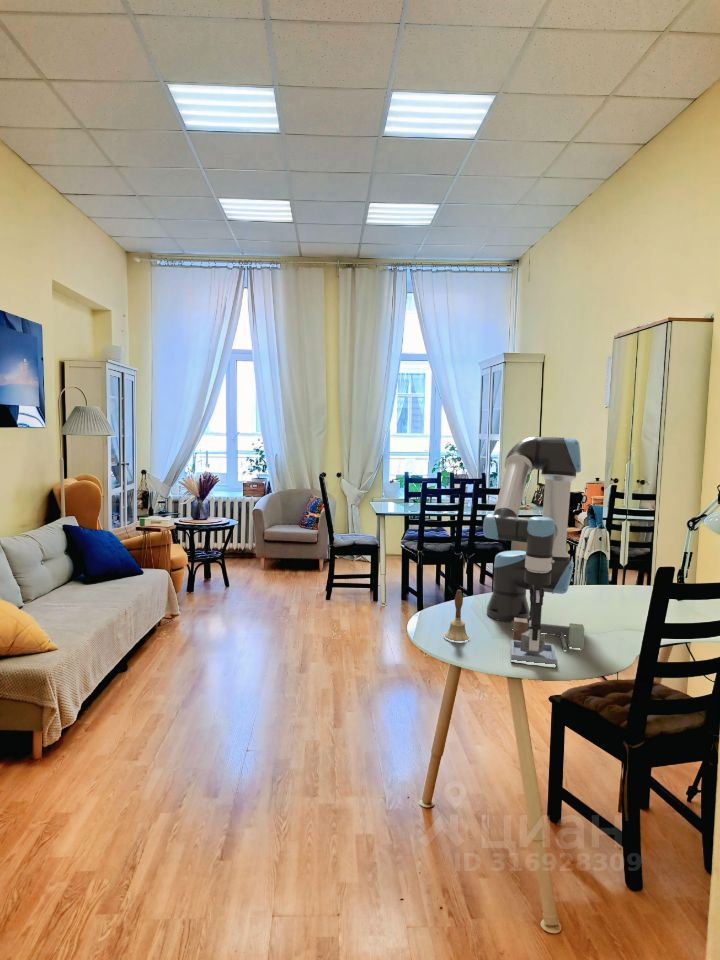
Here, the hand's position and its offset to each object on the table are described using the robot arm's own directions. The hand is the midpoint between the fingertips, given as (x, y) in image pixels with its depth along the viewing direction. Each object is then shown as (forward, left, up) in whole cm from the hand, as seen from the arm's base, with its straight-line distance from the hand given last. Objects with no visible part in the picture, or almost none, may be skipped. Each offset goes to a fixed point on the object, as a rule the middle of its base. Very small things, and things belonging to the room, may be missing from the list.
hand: (533, 646), depth 188 cm
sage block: (+14, +13, -4) cm, 19 cm away
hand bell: (-23, +9, -4) cm, 25 cm away
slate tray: (0, 0, -3) cm, 3 cm away
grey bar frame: (+5, +16, -3) cm, 17 cm away
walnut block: (-3, +13, -4) cm, 14 cm away
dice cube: (0, 0, -1) cm, 2 cm away
